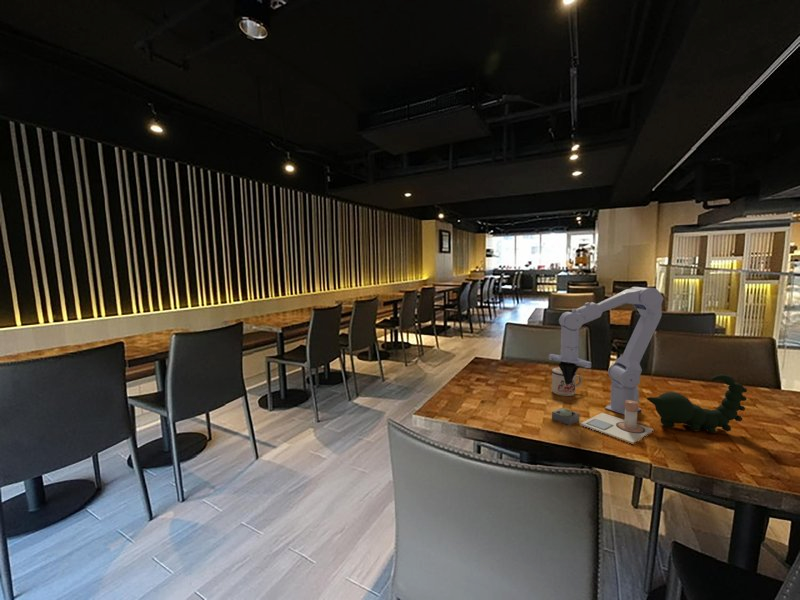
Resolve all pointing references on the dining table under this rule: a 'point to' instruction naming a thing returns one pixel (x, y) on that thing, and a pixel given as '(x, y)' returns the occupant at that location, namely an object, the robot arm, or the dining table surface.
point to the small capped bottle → (630, 414)
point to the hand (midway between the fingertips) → (568, 383)
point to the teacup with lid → (563, 383)
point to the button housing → (565, 417)
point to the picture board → (615, 427)
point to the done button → (565, 412)
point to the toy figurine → (683, 411)
